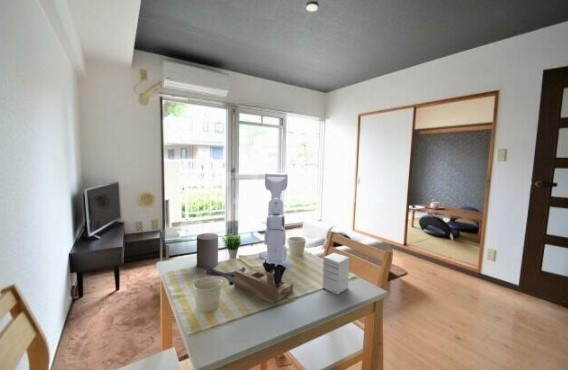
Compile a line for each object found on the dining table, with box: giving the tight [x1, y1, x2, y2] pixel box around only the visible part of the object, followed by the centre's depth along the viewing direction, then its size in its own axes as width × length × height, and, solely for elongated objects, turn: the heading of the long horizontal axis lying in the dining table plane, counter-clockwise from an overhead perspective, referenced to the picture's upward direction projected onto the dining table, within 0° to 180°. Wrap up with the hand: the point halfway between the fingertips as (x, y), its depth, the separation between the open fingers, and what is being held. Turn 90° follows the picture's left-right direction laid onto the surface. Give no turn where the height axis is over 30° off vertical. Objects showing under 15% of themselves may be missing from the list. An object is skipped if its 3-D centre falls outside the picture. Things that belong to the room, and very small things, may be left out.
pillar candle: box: [196, 232, 219, 270], centre depth 122 cm, size 10×10×15 cm
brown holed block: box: [233, 268, 294, 305], centre depth 101 cm, size 12×20×6 cm, turn 52°
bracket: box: [206, 266, 246, 285], centre depth 113 cm, size 14×15×3 cm
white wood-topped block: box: [267, 269, 283, 288], centre depth 99 cm, size 6×3×8 cm, turn 142°
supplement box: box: [322, 252, 350, 295], centre depth 103 cm, size 7×7×13 cm
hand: (274, 282), depth 99 cm, fingers closed on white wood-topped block, 3 cm apart
